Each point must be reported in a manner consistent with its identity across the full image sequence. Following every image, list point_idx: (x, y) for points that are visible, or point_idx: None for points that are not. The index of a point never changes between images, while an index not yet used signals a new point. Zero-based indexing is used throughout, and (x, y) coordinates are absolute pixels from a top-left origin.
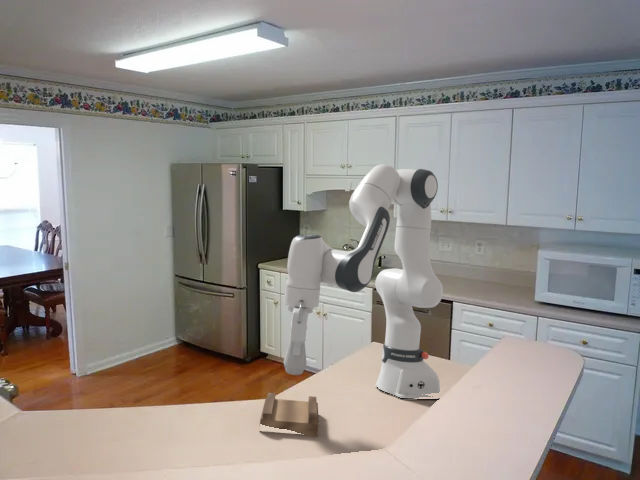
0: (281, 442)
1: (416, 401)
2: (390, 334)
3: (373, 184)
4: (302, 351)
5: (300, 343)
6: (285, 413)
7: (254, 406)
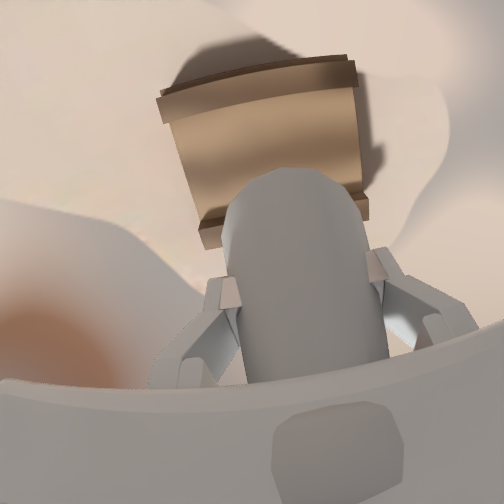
0: (393, 141)
1: None
2: None
3: None
4: (352, 246)
5: (453, 306)
6: (302, 163)
7: (208, 254)
